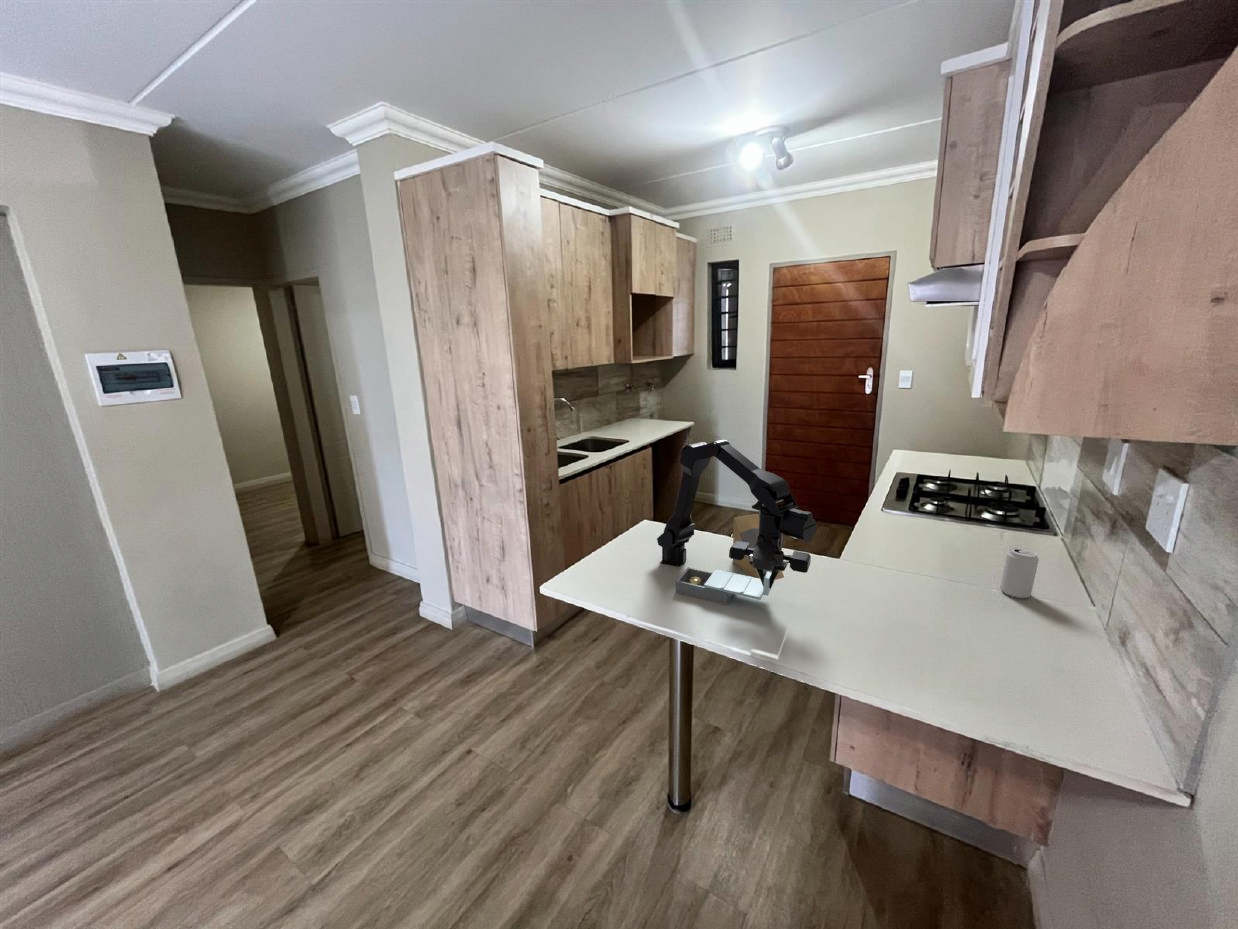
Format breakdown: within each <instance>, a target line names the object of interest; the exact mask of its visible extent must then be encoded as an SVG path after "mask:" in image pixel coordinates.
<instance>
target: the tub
mask: <svg viewBox="0 0 1238 929" xmlns="http://www.w3.org/2000/svg"><path fill="white" fill-rule="evenodd" d="M713 572H714V571H713ZM713 572H711V571H708V570H702V569H698V568H694V567H689V566H687V567H686V569H685V570H684V571H683V572H682V574H680V576H679V577H678V579H676V581H675V594H679V595H684V596H687V597H691V598H696V599H699V600H704V601H708V602H712V603H715V604H716V603H717V604H720V605H725V606H728V605H729V602H730V601H731V599H732V598H733V595H734V594H732V593H727V592H723V591H719V590H714V589H710V588H706V587H704V584H705V583H706V581H707V580H708V579H709V577H710V576H711V575H712V573H713ZM691 577H699V578H700V579H701V586H700V585H695V584H691V583H690V578H691Z"/></svg>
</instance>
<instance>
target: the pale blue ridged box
mask: <svg viewBox="0 0 1238 929" xmlns="http://www.w3.org/2000/svg"><path fill="white" fill-rule="evenodd" d="M771 573H772V572H768V571H767V573H766V575H765V577H764V587H763V585H762V582H761V579H759V578H754V577H752V576H751V575H744V574H739V573H735V572H730V571H724V570H720V569H714V571H713V573H712V575H711V576H710V577H709V579H708V580H707V581H706V583H705V584H704V587H706V588H710V589H714V590H719V591H723V592H727V593H732V594H733V595H736V596H741V597H746V598H750V599H754V600H758V601H761V600H762V599H763V596H769V594H770V592H771V591H772V587H771V588H769V584H770V578H771Z"/></svg>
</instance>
